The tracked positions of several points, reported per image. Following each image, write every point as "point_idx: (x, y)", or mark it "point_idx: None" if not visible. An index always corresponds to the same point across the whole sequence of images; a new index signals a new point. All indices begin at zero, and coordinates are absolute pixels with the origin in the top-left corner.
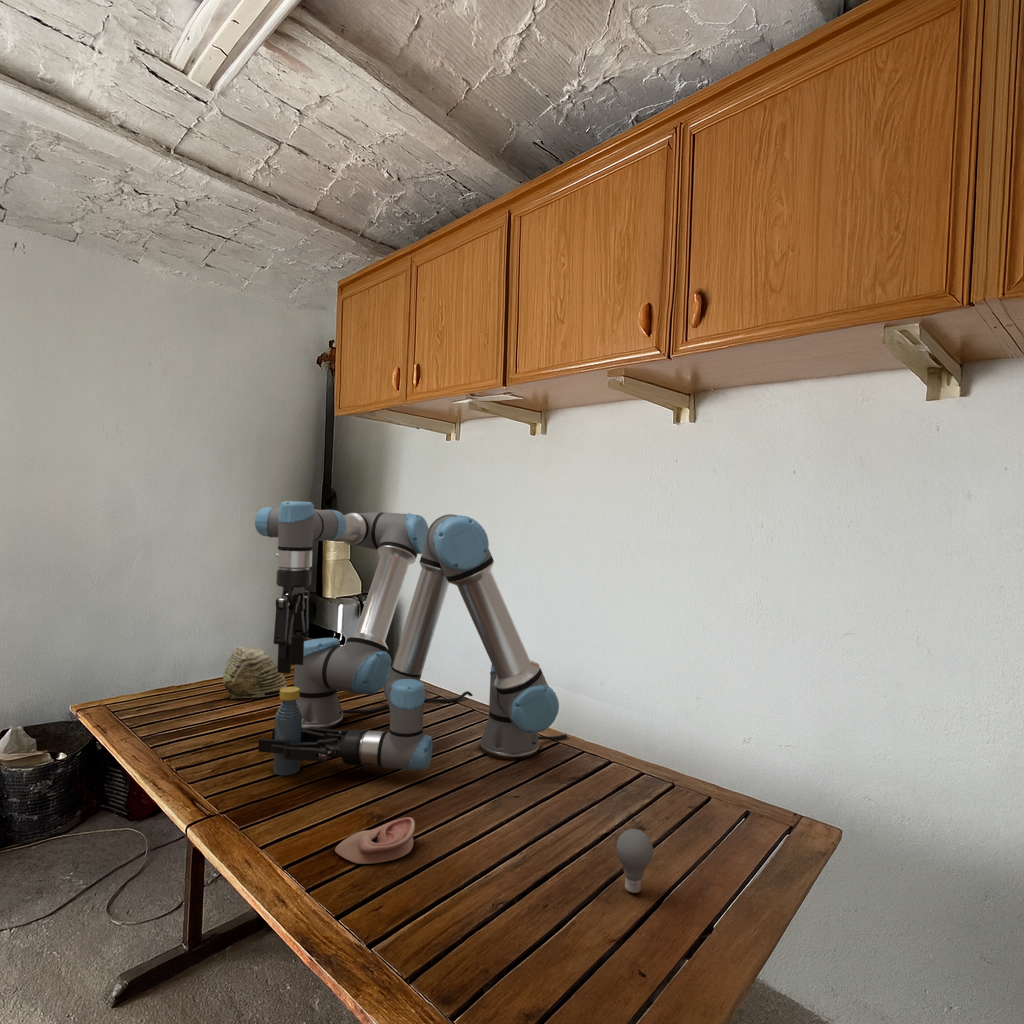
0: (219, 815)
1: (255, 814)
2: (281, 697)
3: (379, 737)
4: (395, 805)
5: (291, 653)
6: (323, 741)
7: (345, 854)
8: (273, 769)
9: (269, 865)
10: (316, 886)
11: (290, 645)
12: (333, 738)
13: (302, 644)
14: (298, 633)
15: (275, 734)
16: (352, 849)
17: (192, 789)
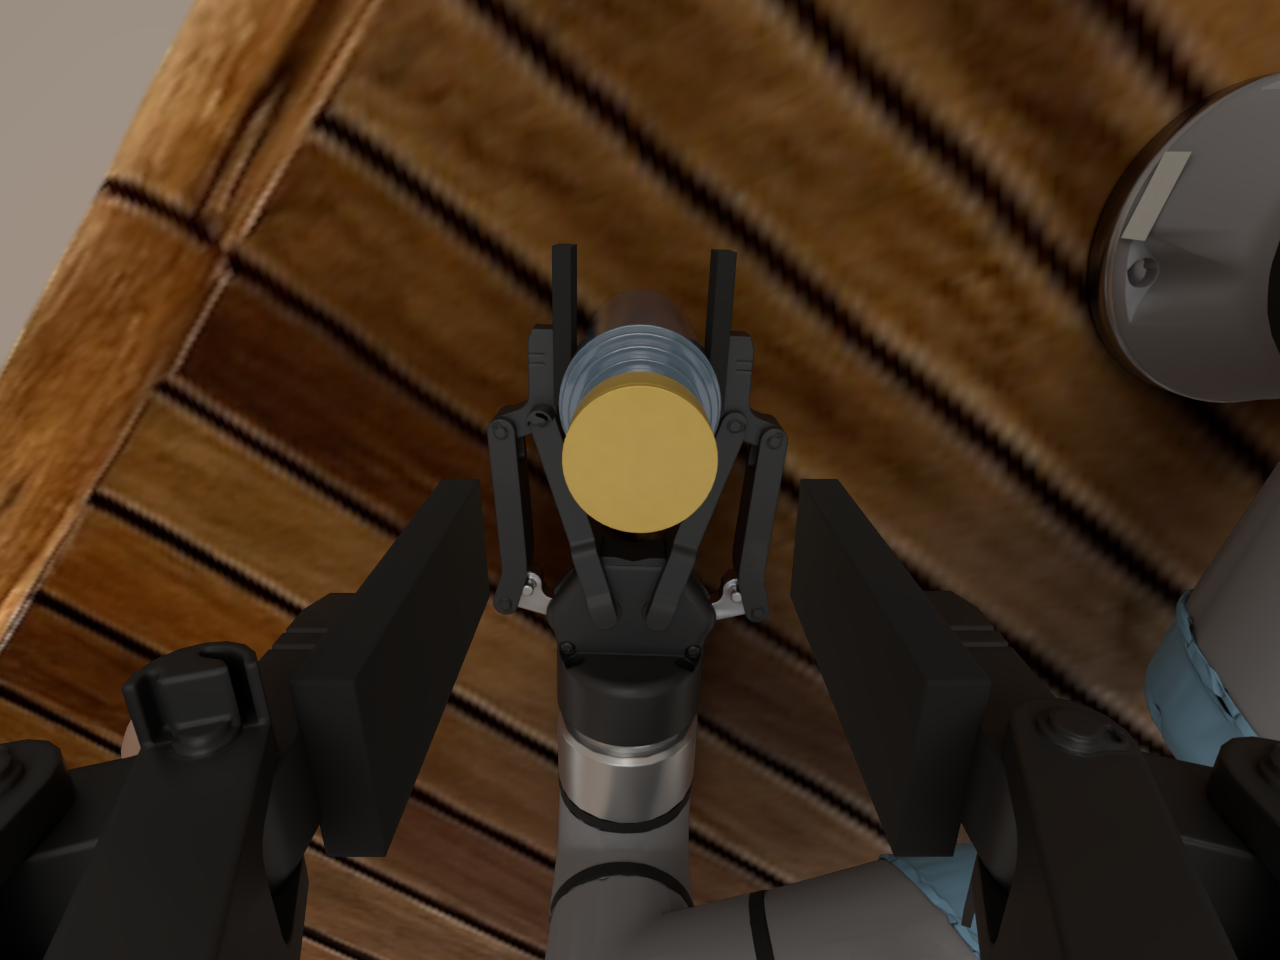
0: (213, 261)
1: (265, 388)
2: (575, 410)
3: (592, 811)
4: (454, 766)
5: (836, 538)
6: (579, 577)
7: (130, 729)
8: (611, 298)
9: (28, 556)
10: (6, 693)
11: (343, 842)
12: (612, 612)
13: (859, 758)
14: (998, 823)
15: (590, 330)
16: (140, 747)
17: (369, 4)
